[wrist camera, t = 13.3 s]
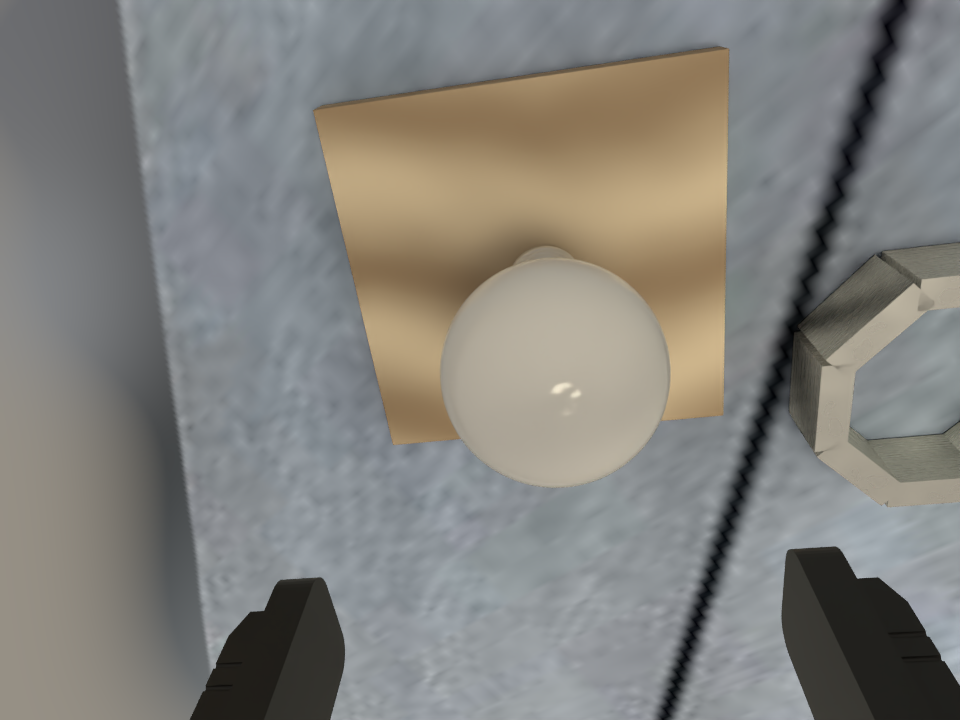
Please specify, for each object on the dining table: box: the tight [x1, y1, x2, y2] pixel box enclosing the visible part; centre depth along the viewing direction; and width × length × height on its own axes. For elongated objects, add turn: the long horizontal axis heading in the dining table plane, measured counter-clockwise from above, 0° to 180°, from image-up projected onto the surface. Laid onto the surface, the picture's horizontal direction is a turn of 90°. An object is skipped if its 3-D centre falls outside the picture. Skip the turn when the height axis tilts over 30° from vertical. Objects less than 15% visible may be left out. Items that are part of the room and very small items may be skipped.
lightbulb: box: [440, 246, 671, 488], centre depth 22 cm, size 6×6×11 cm
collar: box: [789, 243, 960, 507], centre depth 27 cm, size 10×10×3 cm
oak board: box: [313, 47, 729, 445], centre depth 27 cm, size 14×14×1 cm
